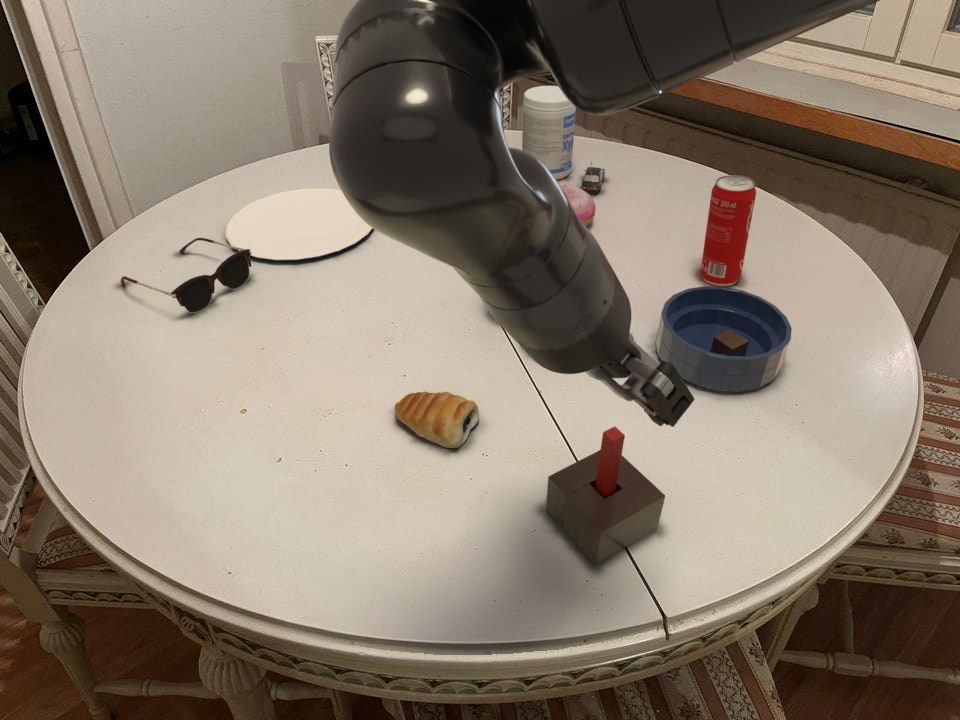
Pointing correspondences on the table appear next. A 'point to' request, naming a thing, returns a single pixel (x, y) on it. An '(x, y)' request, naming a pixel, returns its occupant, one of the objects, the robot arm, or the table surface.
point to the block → (729, 344)
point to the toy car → (593, 179)
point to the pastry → (438, 417)
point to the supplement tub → (549, 128)
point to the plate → (297, 225)
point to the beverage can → (727, 229)
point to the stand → (603, 507)
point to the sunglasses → (209, 280)
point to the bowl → (711, 313)
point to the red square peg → (609, 462)
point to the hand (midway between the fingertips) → (623, 385)
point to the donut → (580, 202)
